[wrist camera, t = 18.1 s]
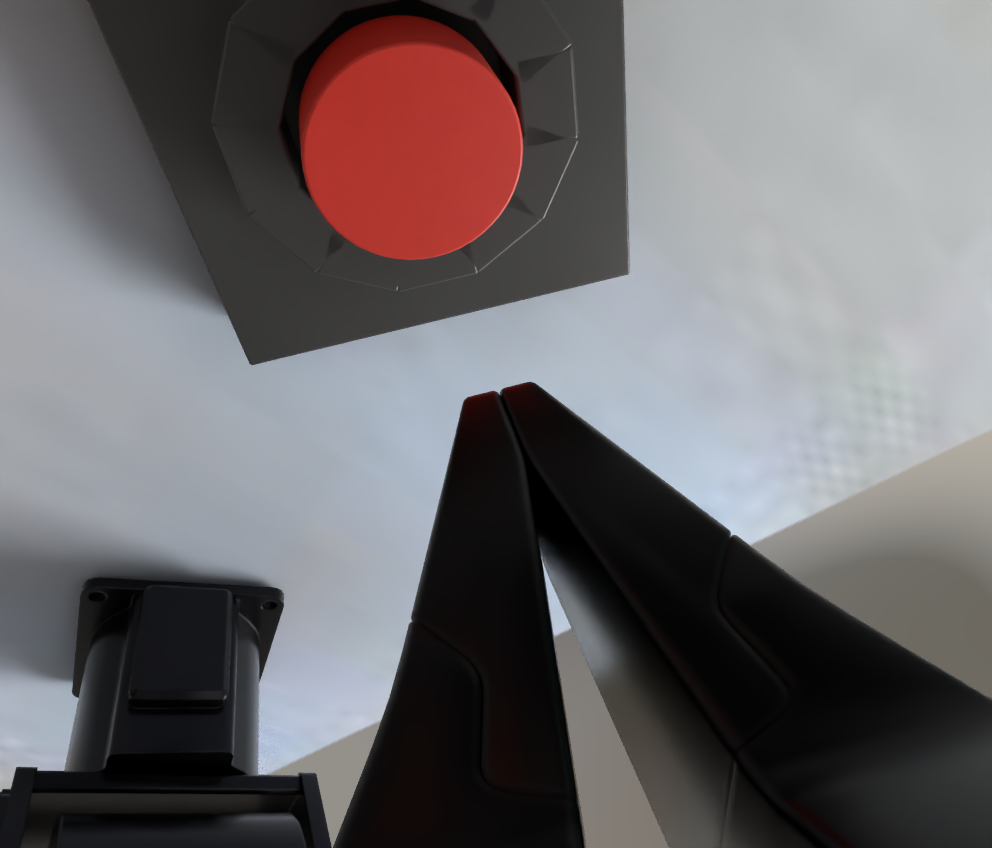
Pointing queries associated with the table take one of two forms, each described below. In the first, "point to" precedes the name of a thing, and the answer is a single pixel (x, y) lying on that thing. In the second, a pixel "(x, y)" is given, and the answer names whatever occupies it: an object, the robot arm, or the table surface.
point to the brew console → (281, 183)
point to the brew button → (408, 138)
